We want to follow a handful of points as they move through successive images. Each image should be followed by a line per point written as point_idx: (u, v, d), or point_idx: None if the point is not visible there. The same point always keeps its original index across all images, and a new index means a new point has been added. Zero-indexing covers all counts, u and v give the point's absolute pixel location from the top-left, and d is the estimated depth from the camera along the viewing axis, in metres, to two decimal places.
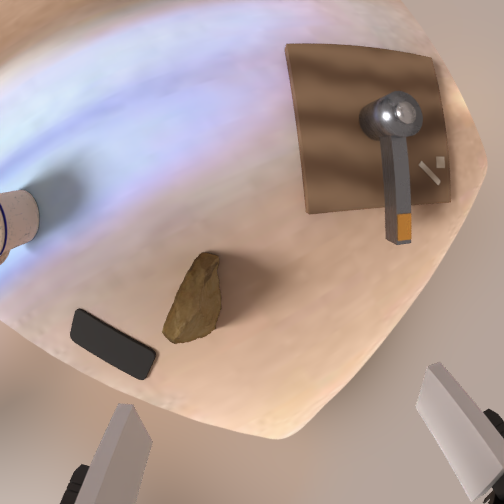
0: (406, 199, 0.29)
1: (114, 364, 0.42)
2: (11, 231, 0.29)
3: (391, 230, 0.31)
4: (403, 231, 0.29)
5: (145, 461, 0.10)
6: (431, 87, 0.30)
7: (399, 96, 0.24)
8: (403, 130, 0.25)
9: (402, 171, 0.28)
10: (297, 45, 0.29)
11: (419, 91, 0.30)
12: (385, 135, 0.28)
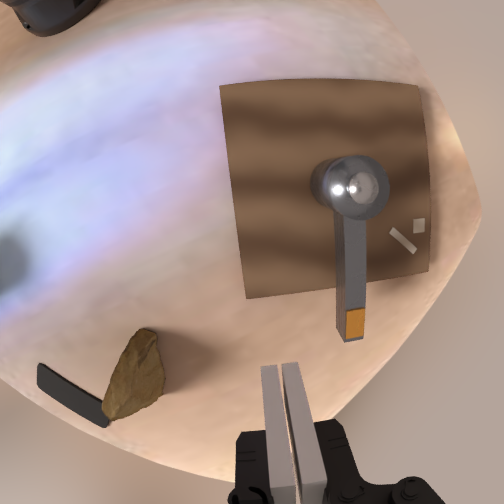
0: (359, 293, 0.25)
1: (78, 412, 0.38)
2: None
3: (340, 323, 0.27)
4: (353, 328, 0.26)
5: None
6: (415, 127, 0.26)
7: (356, 163, 0.20)
8: (358, 213, 0.21)
9: (356, 260, 0.24)
10: (233, 86, 0.25)
11: (398, 135, 0.26)
12: (337, 212, 0.24)
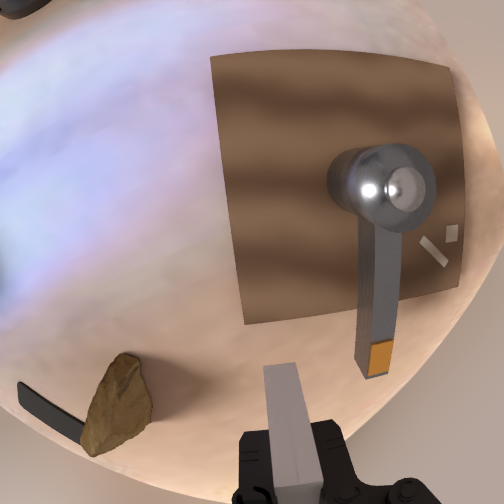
0: (388, 322, 0.19)
1: (62, 433, 0.32)
2: None
3: (361, 356, 0.21)
4: (377, 364, 0.19)
5: None
6: (448, 115, 0.19)
7: (397, 154, 0.14)
8: (397, 222, 0.15)
9: (387, 283, 0.18)
10: (227, 57, 0.18)
11: (430, 123, 0.20)
12: (365, 220, 0.18)
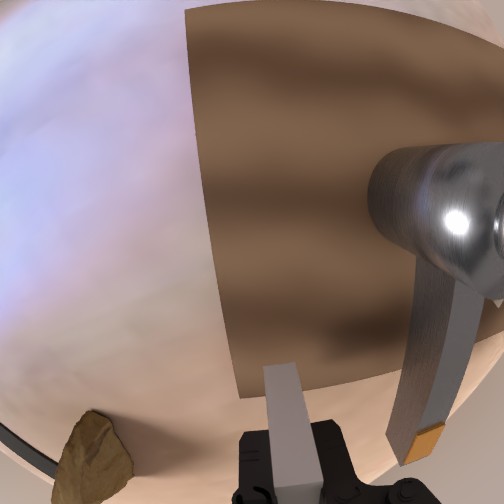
0: (444, 406, 0.10)
1: (43, 471, 0.23)
2: None
3: (397, 439, 0.13)
4: (419, 451, 0.11)
5: None
6: None
7: None
8: (501, 283, 0.07)
9: (455, 360, 0.10)
10: (211, 9, 0.10)
11: (494, 118, 0.12)
12: (437, 267, 0.10)
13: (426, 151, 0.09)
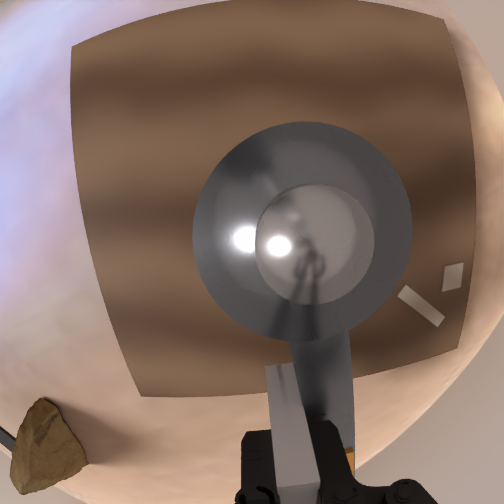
0: (341, 435, 0.10)
1: None
2: None
3: None
4: None
5: None
6: (447, 88, 0.11)
7: (280, 156, 0.06)
8: (308, 321, 0.07)
9: (327, 392, 0.10)
10: (90, 42, 0.11)
11: (418, 99, 0.12)
12: None
13: None
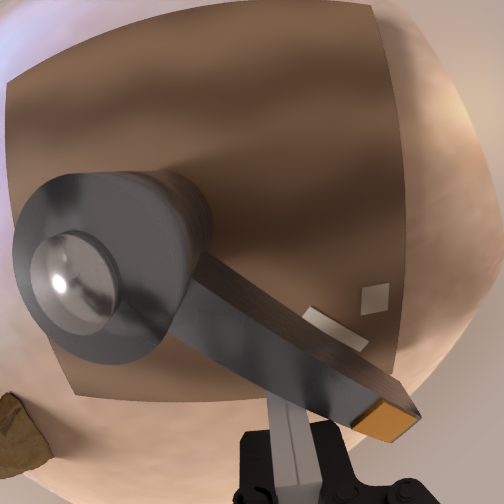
0: (349, 395, 0.09)
1: None
2: None
3: None
4: (389, 430, 0.10)
5: None
6: (366, 82, 0.11)
7: (28, 242, 0.06)
8: (134, 336, 0.06)
9: (279, 368, 0.09)
10: (19, 78, 0.11)
11: (323, 100, 0.12)
12: None
13: None
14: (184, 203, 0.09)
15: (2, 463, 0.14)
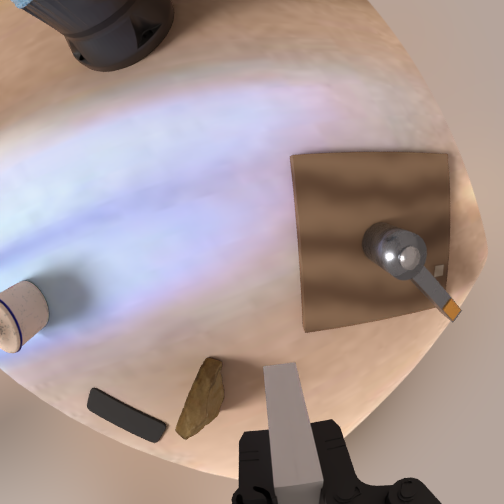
0: (443, 295, 0.30)
1: (129, 430, 0.43)
2: (25, 332, 0.31)
3: (443, 313, 0.32)
4: (452, 313, 0.30)
5: None
6: (442, 191, 0.32)
7: (396, 247, 0.26)
8: (415, 270, 0.27)
9: (429, 283, 0.29)
10: (304, 156, 0.31)
11: (429, 199, 0.32)
12: None
13: (373, 246, 0.30)
14: None
15: (209, 415, 0.33)
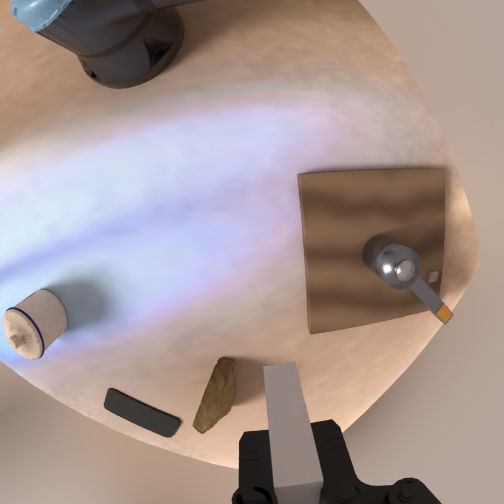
0: (436, 301, 0.33)
1: (144, 427, 0.47)
2: (46, 340, 0.34)
3: (436, 316, 0.35)
4: (445, 316, 0.34)
5: None
6: (437, 204, 0.35)
7: (393, 261, 0.29)
8: (410, 281, 0.30)
9: (423, 291, 0.33)
10: (310, 176, 0.34)
11: (425, 212, 0.36)
12: None
13: (373, 258, 0.33)
14: None
15: (223, 410, 0.37)
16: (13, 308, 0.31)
